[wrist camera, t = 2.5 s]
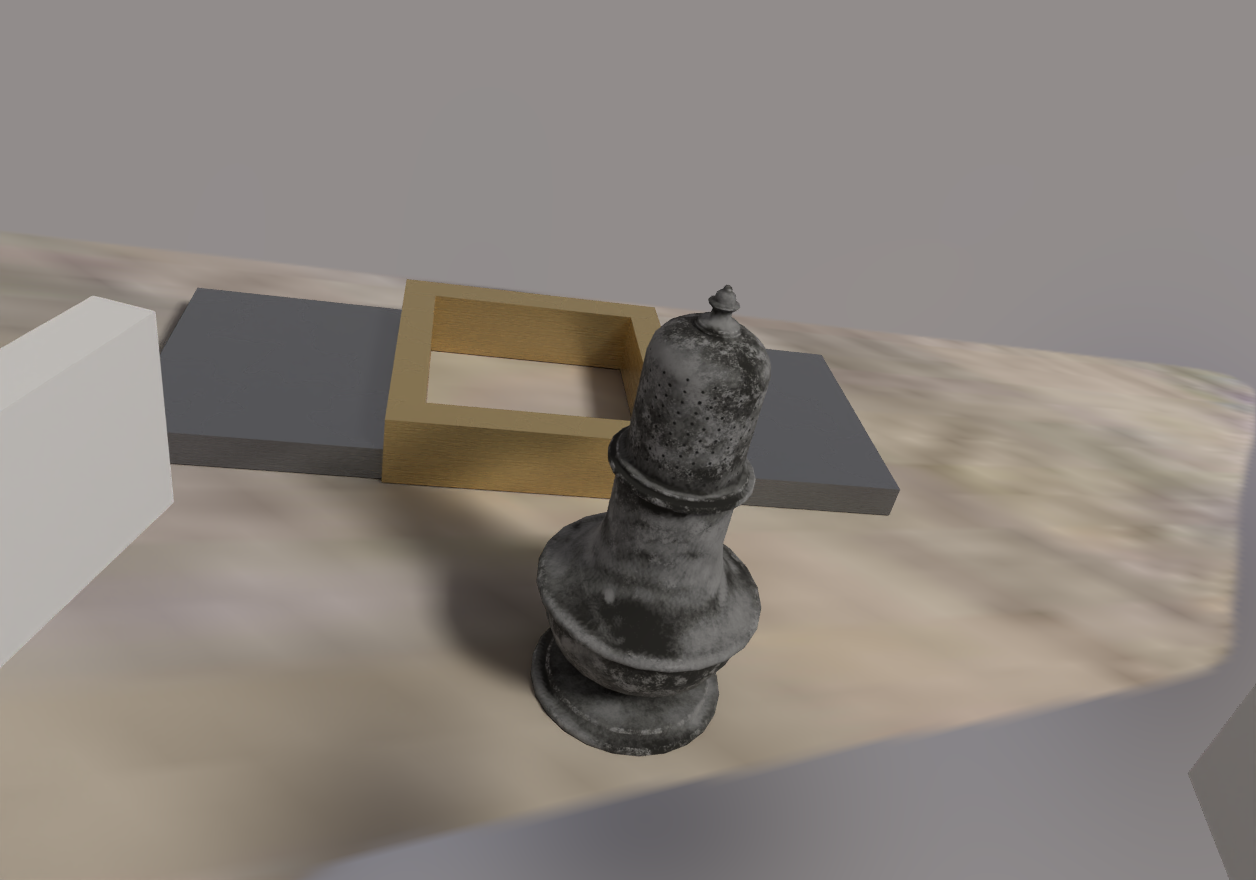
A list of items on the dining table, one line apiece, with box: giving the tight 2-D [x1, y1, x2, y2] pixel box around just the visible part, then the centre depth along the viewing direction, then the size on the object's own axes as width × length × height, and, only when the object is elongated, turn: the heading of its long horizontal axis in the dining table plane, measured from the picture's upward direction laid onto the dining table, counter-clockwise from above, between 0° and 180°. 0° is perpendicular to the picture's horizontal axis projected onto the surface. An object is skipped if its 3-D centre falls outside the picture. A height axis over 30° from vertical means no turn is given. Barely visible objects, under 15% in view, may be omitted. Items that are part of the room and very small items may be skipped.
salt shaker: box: [531, 285, 771, 756], centre depth 23 cm, size 6×6×12 cm
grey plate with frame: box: [160, 279, 900, 515], centre depth 36 cm, size 26×10×2 cm, turn 97°
